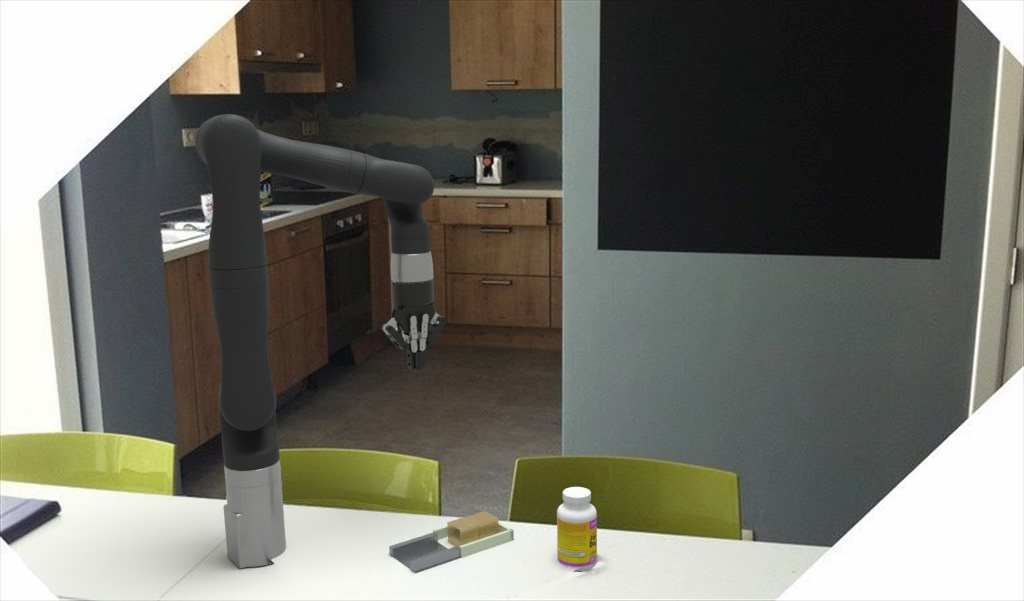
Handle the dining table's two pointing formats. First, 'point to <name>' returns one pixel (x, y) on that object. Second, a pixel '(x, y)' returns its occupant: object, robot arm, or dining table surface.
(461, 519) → the brass block
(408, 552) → the slot rail
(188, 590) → the dining table surface
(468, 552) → the tray
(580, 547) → the supplement bottle
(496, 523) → the brass block
